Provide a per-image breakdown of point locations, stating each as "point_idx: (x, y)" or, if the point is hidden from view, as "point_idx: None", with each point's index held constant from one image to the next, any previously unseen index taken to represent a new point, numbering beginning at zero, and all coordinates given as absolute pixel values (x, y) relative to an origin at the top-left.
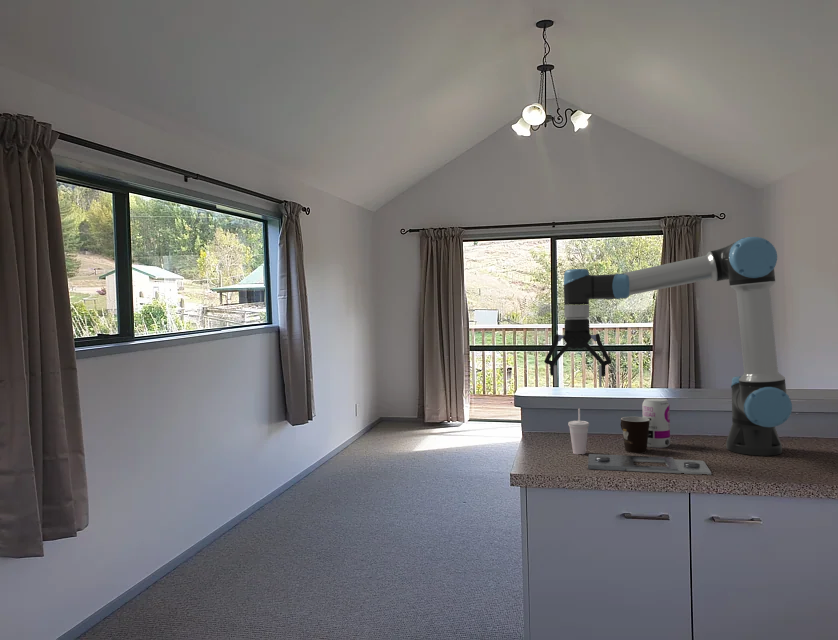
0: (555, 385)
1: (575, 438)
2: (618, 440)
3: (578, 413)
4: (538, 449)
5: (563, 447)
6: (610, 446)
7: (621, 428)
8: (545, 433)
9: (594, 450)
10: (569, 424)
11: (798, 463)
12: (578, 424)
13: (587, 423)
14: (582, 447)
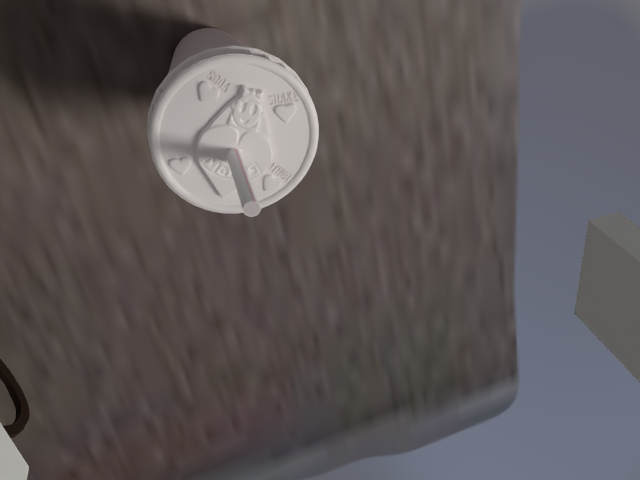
0: (610, 225)
1: (233, 41)
2: (95, 407)
3: (250, 181)
4: (449, 69)
5: (326, 167)
6: (89, 285)
7: (23, 394)
8: (448, 382)
9: (144, 166)
10: (300, 88)
11: None
12: (217, 58)
13: (154, 125)
14: (182, 44)
